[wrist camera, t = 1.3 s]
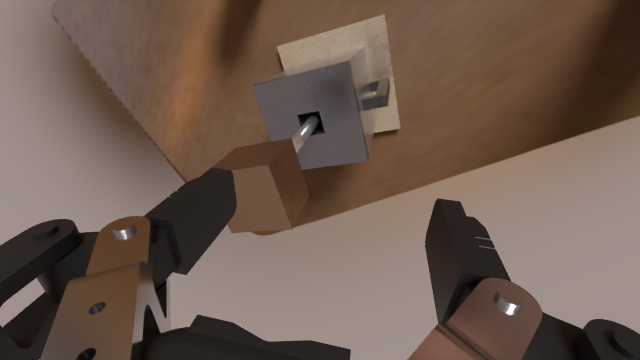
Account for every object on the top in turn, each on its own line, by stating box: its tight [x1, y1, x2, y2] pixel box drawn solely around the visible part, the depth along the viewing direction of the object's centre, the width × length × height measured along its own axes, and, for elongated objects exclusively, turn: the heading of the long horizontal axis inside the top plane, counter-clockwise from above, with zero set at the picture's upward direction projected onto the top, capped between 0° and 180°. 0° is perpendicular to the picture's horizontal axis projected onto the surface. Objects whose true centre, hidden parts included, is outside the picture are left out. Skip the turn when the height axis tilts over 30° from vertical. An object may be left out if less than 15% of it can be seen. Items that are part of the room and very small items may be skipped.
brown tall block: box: [212, 111, 324, 233], centre depth 26 cm, size 7×7×21 cm
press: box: [252, 14, 400, 170], centre depth 37 cm, size 16×16×18 cm
